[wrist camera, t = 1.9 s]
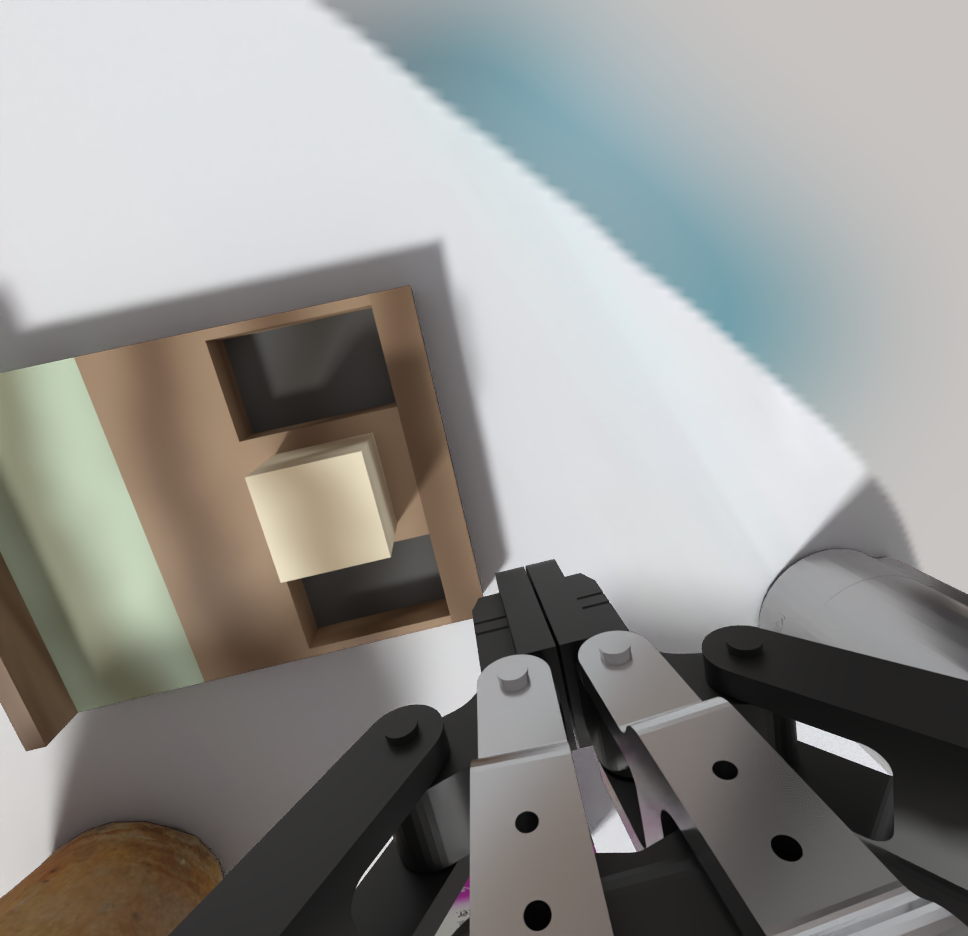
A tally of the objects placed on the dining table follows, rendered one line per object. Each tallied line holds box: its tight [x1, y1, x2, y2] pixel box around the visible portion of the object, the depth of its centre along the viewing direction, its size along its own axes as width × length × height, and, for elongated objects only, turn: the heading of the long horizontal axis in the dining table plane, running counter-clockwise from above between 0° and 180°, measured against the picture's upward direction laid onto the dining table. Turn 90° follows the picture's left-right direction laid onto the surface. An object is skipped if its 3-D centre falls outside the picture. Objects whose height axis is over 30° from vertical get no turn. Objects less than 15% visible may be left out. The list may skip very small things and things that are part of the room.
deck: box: [0, 285, 483, 751], centre depth 27 cm, size 24×18×5 cm
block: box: [245, 433, 397, 583], centre depth 25 cm, size 5×5×4 cm
